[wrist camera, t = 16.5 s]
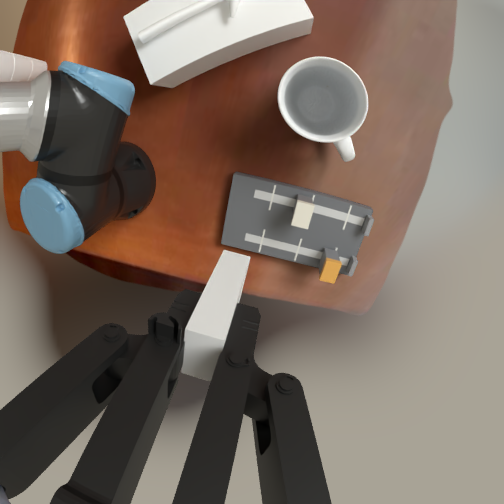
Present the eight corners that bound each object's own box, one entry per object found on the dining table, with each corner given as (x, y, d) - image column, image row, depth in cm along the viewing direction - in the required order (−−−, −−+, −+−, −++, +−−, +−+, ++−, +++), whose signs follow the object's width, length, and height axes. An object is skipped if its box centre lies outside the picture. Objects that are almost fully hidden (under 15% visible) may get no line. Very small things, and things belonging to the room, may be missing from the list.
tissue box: (310, 34, 36) (314, 12, 26) (173, 88, 43) (143, 83, 33) (276, -28, 30) (271, -58, 21) (147, 27, 37) (115, 13, 28)
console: (223, 239, 54) (218, 248, 50) (236, 171, 48) (231, 176, 44) (346, 269, 53) (350, 281, 50) (370, 206, 47) (376, 214, 44)
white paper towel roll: (24, 90, 43) (-33, 99, 27) (34, 50, 39) (-22, 50, 23) (48, 93, 44) (-13, 101, 28) (60, 49, 39) (-1, 46, 23)
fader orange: (317, 265, 51) (319, 280, 46) (324, 246, 49) (326, 260, 45) (331, 268, 51) (334, 283, 46) (338, 250, 49) (341, 264, 45)
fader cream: (291, 214, 47) (291, 225, 43) (297, 192, 46) (297, 201, 41) (306, 218, 47) (307, 229, 43) (312, 197, 46) (314, 206, 41)
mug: (371, 141, 42) (397, 150, 31) (313, 168, 46) (320, 186, 34) (327, 62, 37) (339, 42, 26) (268, 90, 41) (259, 80, 29)
